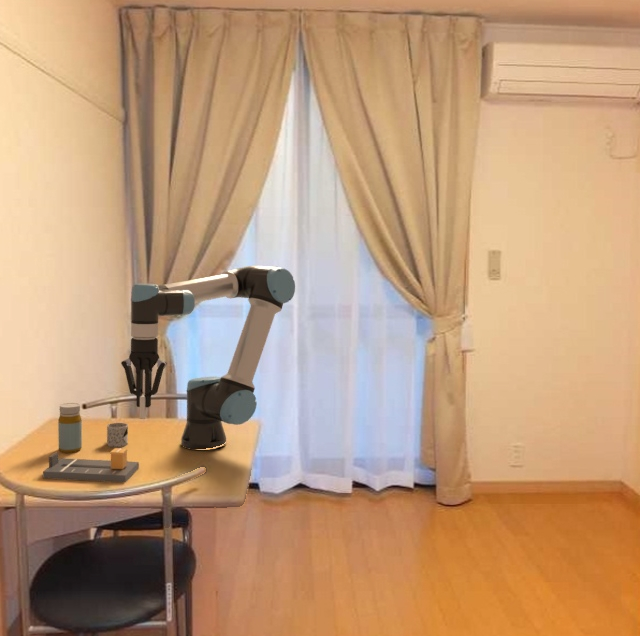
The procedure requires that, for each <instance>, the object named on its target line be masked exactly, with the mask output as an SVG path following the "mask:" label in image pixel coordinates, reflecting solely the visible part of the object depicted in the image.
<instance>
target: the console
mask: <svg viewBox="0 0 640 636" xmlns="http://www.w3.org/2000/svg"><path fill="white" fill-rule="evenodd" d="M139 465H140V463H139V461H127V465H126V466H125V467H124V468H123V469H111V460H103V459H102V460H101V459H86V458H85V459H84V458H83V459H80V458H62V457H60V458H59V452H54V453H53V454H51V455H49V456H48V467H47V468H46V469H44V470H43V471H42V478H43V479H49V478H51V480H69V481H73V480H74V481H92V482H93V481H94V482H109V481H111V482H114V483H127V481H128V480H129V479H130V478H131V477H132V476H133V475H134V474H135V473H136V472H137V471H138V470H139V469H140V466H139Z"/></svg>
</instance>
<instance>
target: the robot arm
mask: <svg viewBox="0 0 640 636" xmlns="http://www.w3.org/2000/svg"><path fill="white" fill-rule="evenodd" d="M295 281H296V280H294V276H293V275H292V273H291V272H290V270H288V269H286V268H284V267H280V266H267V265H266V266H265V265H249V266H243V267H239V268H235V269H234V268H233V269H230V270H225V271H223V272H222V273H221V274H218V275H212V276H208V277H207V276H206V277H201V278H195V279H188V280H183V281H177V282H172V283H166V284H159V285H158V284H156V283H135V284H133V285H132V287H131V295H130V308H131V309H130V311H131V312H130V314H131V315H130V319H131V321H130V322H131V323H130V337H132V338H131V339H130V354H129V356H128V358H126V359H125V360H122V361H121V362H120V364H121V366H122V367H123V369H124V372H125V377H126V381H127V384H128V385H127V386H128V390H129V393H130V395H131V394H132V395H135V396H136V400H135V402H136V403H135V404H136V407H137V408H139V420H146V419H148V409H149V408H150V407H151V406H152V396H155V395H156V394H157V393H158V391H159V388H160V384H161V380H162V377H163V373H164V369H165V368H166V367H167V364H168V362H167V361H163V360H161V359H160V355H159V353H158V352H159V350H158V349H159V347H158V346H159V339H158V338H157V337H158V336H159V317H164V316H165V317H167V316H180V317H181V316H182V317H183V316H184V315H185V316H186V315H190V314H192V313H193V311H194V310H195V305H196V303H200V302H204V301H209V300H214V299H215V300H216V299H220V298H227V299H235V298H242V299H243V298H244V299H247V301H248V302H249V304H250V306H249V310H248V313H247V316H246V318H245V322H244V324H243V328H242V330H241V333H240V336H239V339H238V342H237V344H236V347H235V350H234V354H233V356H232V359H231V362H230V366H229V368H228V370H227V371H228V372H227V373H226V374H224V375H222V376H203V377H195V378H191V379H190V380H188V382H187V385H186V386H187V387H186V424H185V427H184V429H183V431H182V432H183V433H182V435H181V439H180V444H181V446H182V447H183V446H184V447H186V448H185V449H187V448H190V449H189V450H191V449H206V448H213V447H216V446H220V445H222V444H224V443H225V442H226V443H227V436H226V435H227V434H226V433H225V430H224V426H223V423H222V422H224V423H226V424H228V425H233V426H234V425H235V426H236V425H237V426H238V425H242V424H245V423H246V422H248V421H249V420H251V418H252V417H253V415H254V414H255V411H256V409H257V398H256V395H255V394H254V392H255V389H256V387H255V385H254V382H253V380H254V377H255V375H256V371H257V368H258V366H259V362H260V360H261V357H262V353H263V352H264V348H265V345H266V342H267V339H268V337H269V334H270V330H271V326H272V325H273V321H274V319H275V316H276V315H277V314H278V313H281V311H282V309H283V305H284V304H286V303H289V301H291V300H292V299H293V297H294V295H295V293H296V282H295ZM156 364H157V365H156ZM132 365H133V367H135V377H134V372H133V369H132V368H133V367H132ZM155 366H156V367H157V369H156V372H155V377H154V380H152V378H153V377H152V376H153V375H152V373H153V368H154V367H155ZM135 379H136V381H135ZM152 381H153V383H152ZM143 383H144V384H143ZM143 386H144V388H143ZM184 447H183V448H184Z"/></svg>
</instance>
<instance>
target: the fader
mask: <svg viewBox="0 0 640 636" xmlns="http://www.w3.org/2000/svg"><path fill="white" fill-rule="evenodd" d="M109 453H110V461H111V469H123V468H124V467H125V466H126V465H127V460H128V456H127V455H128V454H127V453H128V448H123V447H113V449H112V450H110V452H109Z"/></svg>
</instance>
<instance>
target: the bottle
mask: <svg viewBox="0 0 640 636" xmlns="http://www.w3.org/2000/svg"><path fill="white" fill-rule="evenodd" d="M80 404H81V403H79V402H67V403H61V404H60V405H59V417H58V422H57V423H58V424H57V425H58V426H57V427H58V431H57V432H58V451H59V452H61V453H63V454H72V453H77V452H80V451H81V449H82V448H83V447H82V446H83V445H82V444H83V441H82V440H83V438H82V437H83V435H82V434H83V433H82V428H83V427H82V425H83V424H82V416H81V405H80Z"/></svg>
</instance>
